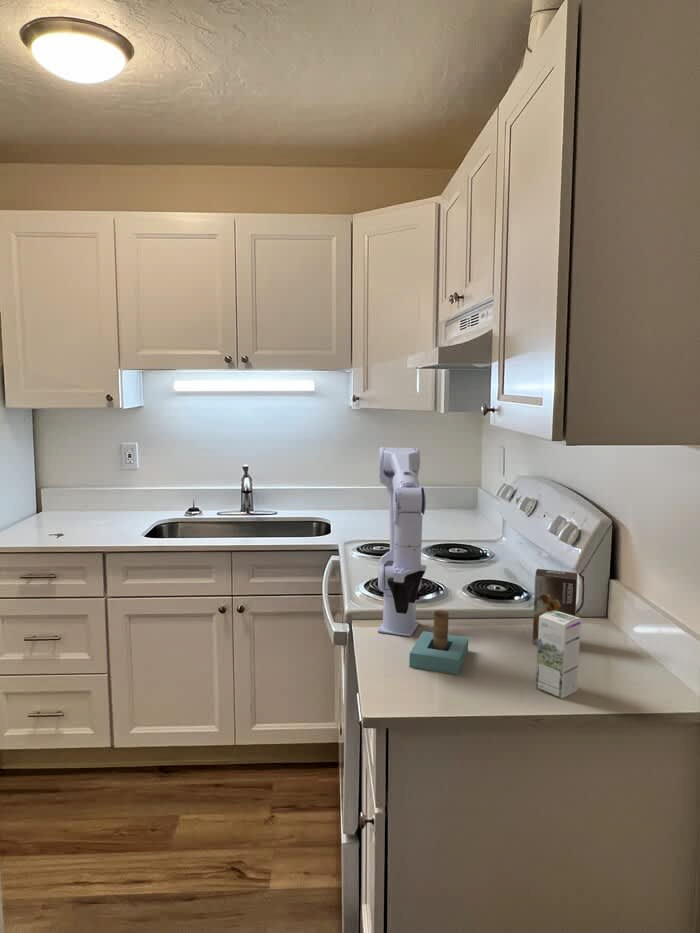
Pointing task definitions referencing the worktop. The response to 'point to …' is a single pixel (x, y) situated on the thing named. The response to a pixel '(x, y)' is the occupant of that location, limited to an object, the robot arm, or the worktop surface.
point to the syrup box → (558, 653)
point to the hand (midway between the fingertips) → (405, 607)
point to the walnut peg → (440, 630)
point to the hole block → (439, 654)
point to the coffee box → (553, 595)
